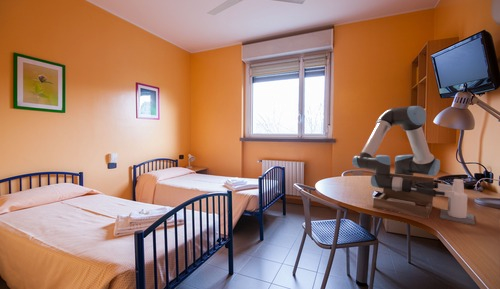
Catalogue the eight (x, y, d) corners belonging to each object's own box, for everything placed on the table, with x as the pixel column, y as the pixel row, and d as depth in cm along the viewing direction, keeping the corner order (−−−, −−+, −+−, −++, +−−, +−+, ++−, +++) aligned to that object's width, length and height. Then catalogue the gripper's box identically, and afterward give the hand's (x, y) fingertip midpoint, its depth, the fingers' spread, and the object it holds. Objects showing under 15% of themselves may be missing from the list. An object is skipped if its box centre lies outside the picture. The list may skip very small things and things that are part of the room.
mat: (441, 210, 117) (441, 208, 117) (473, 215, 109) (473, 214, 109) (439, 218, 107) (439, 216, 107) (474, 225, 99) (474, 224, 99)
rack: (383, 197, 140) (384, 172, 138) (432, 206, 123) (433, 177, 122) (373, 207, 123) (373, 179, 122) (428, 218, 107) (429, 186, 105)
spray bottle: (460, 213, 110) (462, 178, 109) (470, 219, 104) (472, 181, 102) (444, 212, 112) (445, 177, 111) (452, 217, 105) (454, 181, 104)
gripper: (406, 186, 132) (454, 193, 117) (397, 196, 114) (453, 205, 99) (406, 174, 131) (455, 179, 116) (398, 182, 113) (454, 189, 98)
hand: (454, 191), depth 108 cm, fingers open, 13 cm apart
